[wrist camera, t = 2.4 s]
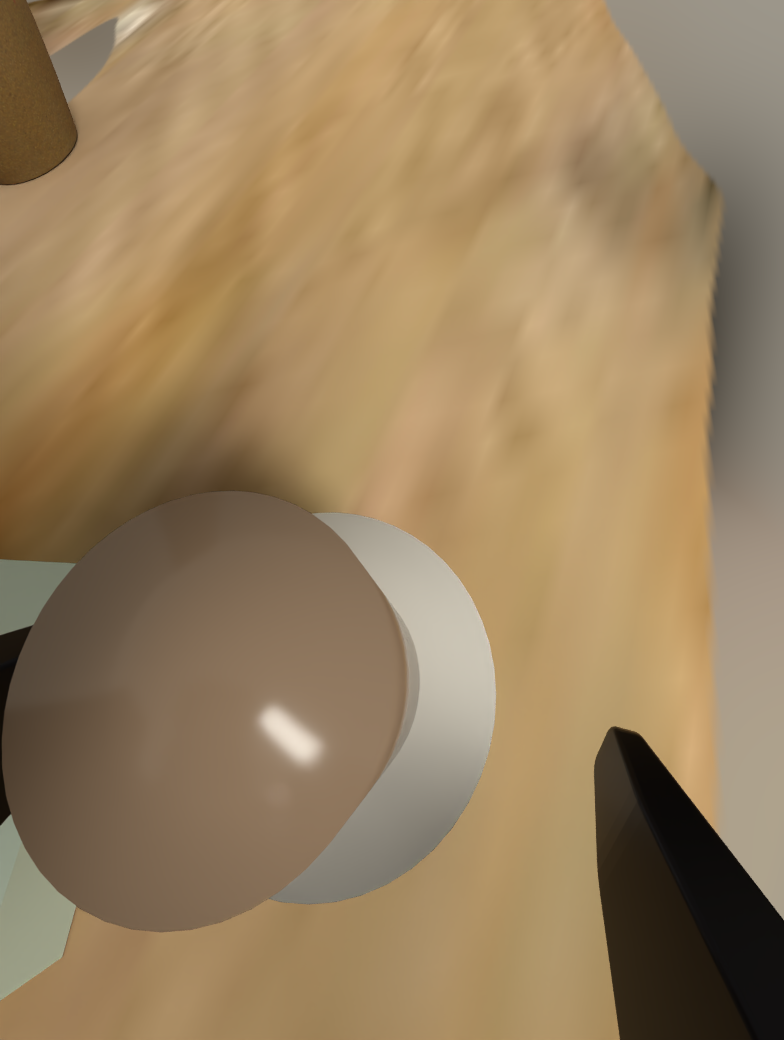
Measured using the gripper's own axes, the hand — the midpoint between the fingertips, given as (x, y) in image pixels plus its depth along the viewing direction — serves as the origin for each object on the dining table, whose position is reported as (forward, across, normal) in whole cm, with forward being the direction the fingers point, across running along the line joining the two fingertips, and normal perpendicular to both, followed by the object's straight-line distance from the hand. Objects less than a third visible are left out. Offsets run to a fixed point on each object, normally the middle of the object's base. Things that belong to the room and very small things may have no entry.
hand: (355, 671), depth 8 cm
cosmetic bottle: (+5, 0, +6) cm, 8 cm away
